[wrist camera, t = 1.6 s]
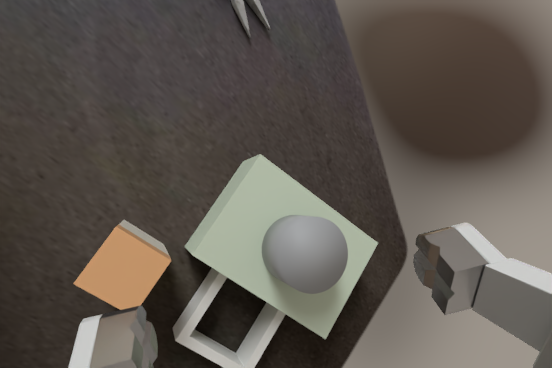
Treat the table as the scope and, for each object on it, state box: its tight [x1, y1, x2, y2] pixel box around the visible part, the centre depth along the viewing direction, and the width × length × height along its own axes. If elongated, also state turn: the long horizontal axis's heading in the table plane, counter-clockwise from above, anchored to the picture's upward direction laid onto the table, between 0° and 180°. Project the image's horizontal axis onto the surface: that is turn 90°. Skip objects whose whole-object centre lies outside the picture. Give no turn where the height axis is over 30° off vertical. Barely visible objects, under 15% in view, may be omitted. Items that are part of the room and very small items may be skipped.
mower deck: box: [173, 154, 378, 368], centre depth 38 cm, size 20×17×12 cm
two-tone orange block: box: [74, 220, 171, 310], centre depth 34 cm, size 5×5×12 cm
